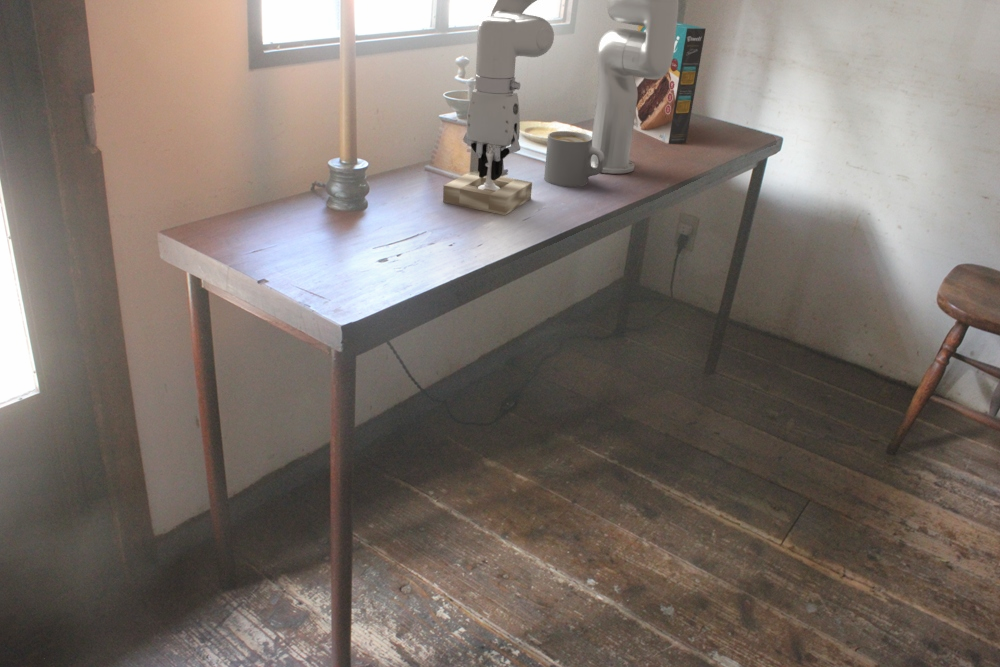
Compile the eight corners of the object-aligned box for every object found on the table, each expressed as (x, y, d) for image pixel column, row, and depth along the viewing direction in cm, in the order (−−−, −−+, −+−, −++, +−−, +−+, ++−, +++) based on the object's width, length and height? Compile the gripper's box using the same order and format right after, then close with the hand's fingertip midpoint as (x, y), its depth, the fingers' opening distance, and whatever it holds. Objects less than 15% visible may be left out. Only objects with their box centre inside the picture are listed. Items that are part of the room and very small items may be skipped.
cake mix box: (625, 125, 235) (639, 17, 221) (642, 124, 237) (657, 17, 223) (668, 143, 218) (687, 28, 204) (686, 142, 220) (705, 28, 206)
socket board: (471, 186, 172) (472, 170, 170) (530, 198, 167) (532, 182, 165) (443, 201, 161) (443, 185, 160) (505, 215, 156) (506, 198, 155)
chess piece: (480, 195, 161) (482, 147, 156) (474, 188, 165) (476, 140, 160) (503, 195, 162) (506, 146, 157) (497, 187, 166) (500, 140, 161)
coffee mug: (535, 179, 180) (539, 135, 175) (559, 171, 187) (563, 128, 182) (585, 193, 173) (591, 147, 168) (608, 184, 180) (614, 140, 175)
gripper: (539, 87, 154) (532, 179, 162) (467, 77, 159) (463, 166, 168) (524, 93, 148) (517, 189, 156) (449, 82, 153) (446, 175, 162)
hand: (489, 176), depth 162 cm, fingers closed on chess piece
